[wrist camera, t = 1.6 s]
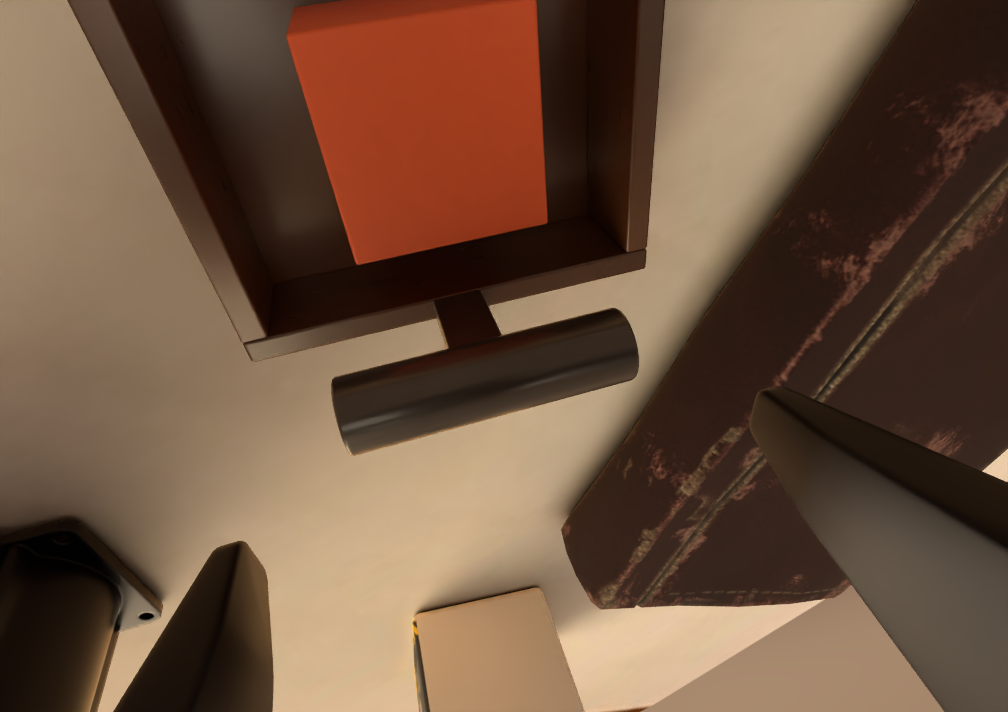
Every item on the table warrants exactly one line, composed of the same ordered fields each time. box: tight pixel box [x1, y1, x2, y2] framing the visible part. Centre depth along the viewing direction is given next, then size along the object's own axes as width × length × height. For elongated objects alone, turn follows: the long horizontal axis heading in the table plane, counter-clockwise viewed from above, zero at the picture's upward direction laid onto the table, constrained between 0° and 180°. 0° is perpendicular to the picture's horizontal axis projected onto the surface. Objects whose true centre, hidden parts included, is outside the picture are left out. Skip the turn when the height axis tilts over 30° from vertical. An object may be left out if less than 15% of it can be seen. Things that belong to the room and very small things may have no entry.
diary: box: [561, 0, 1008, 609], centre depth 23 cm, size 19×25×5 cm
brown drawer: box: [67, 0, 665, 455], centre depth 10 cm, size 11×10×7 cm
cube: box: [286, 0, 548, 265], centre depth 11 cm, size 4×4×4 cm
